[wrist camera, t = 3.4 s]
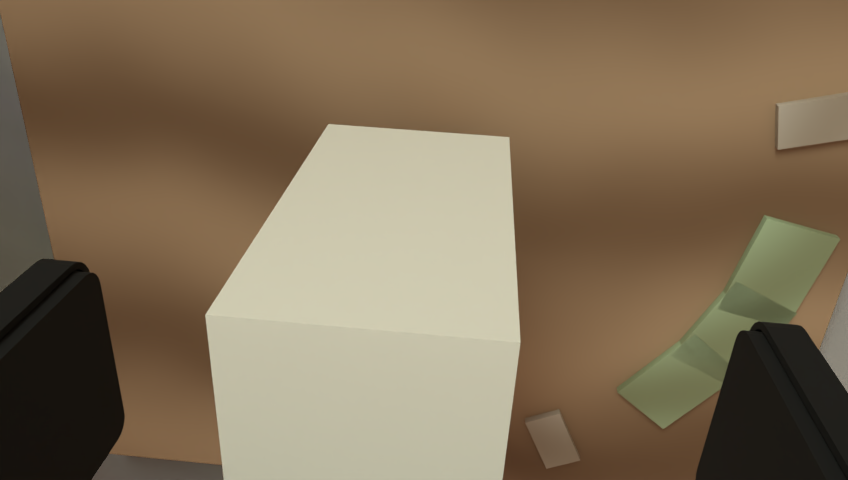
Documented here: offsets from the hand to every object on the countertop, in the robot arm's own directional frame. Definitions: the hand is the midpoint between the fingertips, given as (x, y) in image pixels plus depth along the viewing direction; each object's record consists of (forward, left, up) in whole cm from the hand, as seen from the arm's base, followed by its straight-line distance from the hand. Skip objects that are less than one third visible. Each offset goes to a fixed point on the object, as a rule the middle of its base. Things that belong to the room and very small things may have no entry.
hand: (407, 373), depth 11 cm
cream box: (+3, 0, -7) cm, 8 cm away
